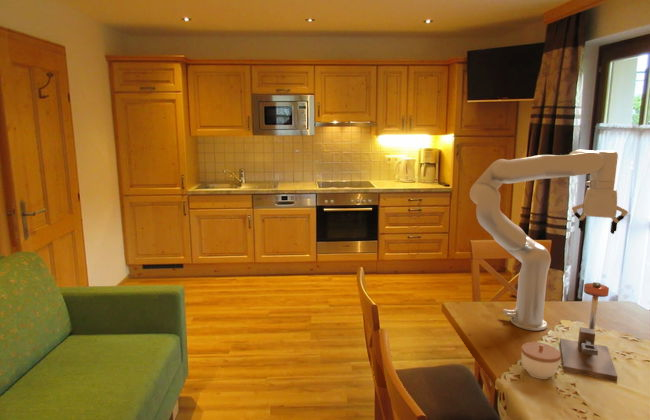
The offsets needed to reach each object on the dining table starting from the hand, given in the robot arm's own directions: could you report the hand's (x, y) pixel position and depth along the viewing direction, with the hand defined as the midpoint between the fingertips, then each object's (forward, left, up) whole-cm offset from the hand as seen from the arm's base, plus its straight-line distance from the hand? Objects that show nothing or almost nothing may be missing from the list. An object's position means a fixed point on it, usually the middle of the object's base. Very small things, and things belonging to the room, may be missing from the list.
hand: (596, 231), depth 162 cm
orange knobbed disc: (-3, -34, -24) cm, 41 cm away
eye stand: (-3, -30, -36) cm, 47 cm away
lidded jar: (-17, -45, -36) cm, 60 cm away
